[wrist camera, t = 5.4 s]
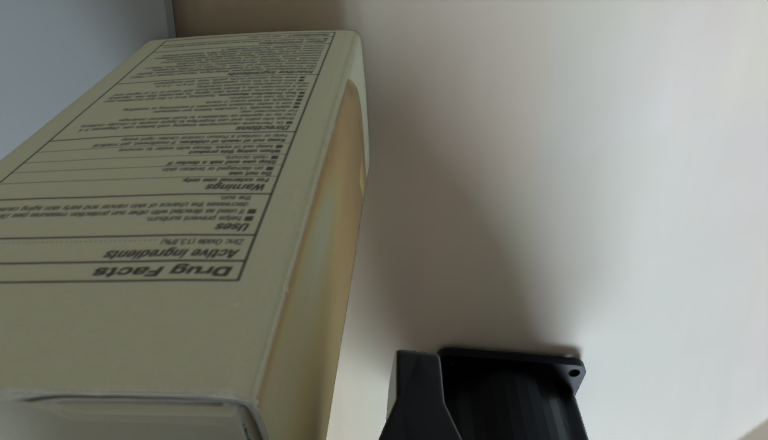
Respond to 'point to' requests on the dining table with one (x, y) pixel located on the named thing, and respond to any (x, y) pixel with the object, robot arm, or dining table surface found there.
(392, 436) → the robot arm
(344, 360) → the dining table surface
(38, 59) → the mat
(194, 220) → the skincare box
